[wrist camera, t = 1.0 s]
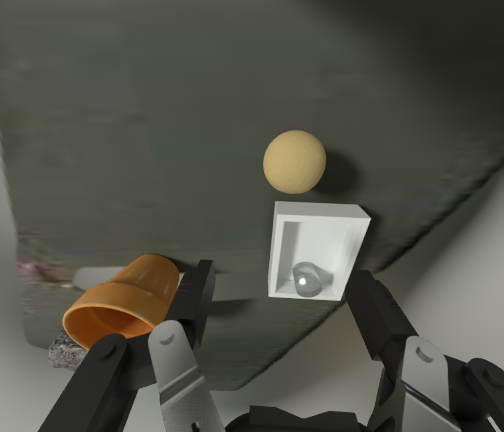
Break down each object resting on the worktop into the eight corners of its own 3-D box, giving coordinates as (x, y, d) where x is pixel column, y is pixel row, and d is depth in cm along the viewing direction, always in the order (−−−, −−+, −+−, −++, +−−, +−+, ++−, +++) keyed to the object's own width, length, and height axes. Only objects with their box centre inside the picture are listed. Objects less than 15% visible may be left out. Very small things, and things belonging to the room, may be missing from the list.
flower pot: (114, 278, 41) (58, 344, 30) (129, 229, 35) (65, 290, 23) (178, 302, 44) (150, 371, 33) (203, 261, 38) (178, 329, 26)
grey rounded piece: (294, 261, 33) (297, 279, 30) (318, 262, 33) (324, 280, 30) (291, 277, 35) (294, 297, 32) (313, 279, 35) (319, 298, 32)
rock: (65, 344, 56) (120, 354, 58) (44, 371, 50) (106, 381, 53) (58, 320, 49) (121, 333, 52) (34, 348, 44) (105, 361, 46)
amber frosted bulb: (318, 132, 26) (347, 147, 17) (299, 178, 29) (316, 210, 20) (271, 118, 25) (276, 125, 16) (257, 166, 28) (255, 193, 19)
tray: (274, 197, 30) (277, 214, 26) (353, 200, 30) (371, 218, 25) (267, 272, 38) (268, 296, 33) (330, 275, 38) (340, 300, 33)
